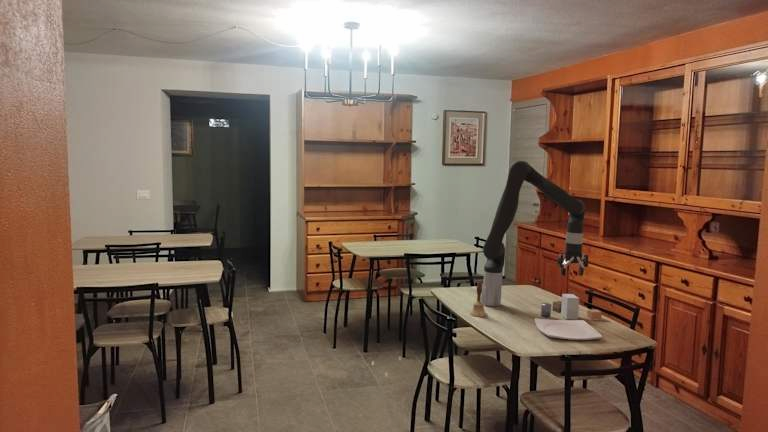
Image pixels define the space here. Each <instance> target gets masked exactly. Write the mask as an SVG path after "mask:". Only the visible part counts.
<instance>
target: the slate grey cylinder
mask: <svg viewBox="0 0 768 432" xmlns="http://www.w3.org/2000/svg"><path fill="white" fill-rule="evenodd" d="M551 315H552V304H551V303H548V302H542V303H541V312H540V317H541V318H543V319H544V318H545V319H548V318H549V319H550V318H551V317H552V316H551Z"/></svg>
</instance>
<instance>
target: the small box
mask: <svg viewBox="0 0 768 432" xmlns="http://www.w3.org/2000/svg"><path fill="white" fill-rule="evenodd" d="M561 302H562V307H561V313H560V315H561V316H562V317H563V318H564V319H566V320H579V311H580V310H579V309H580V297H578V296H576V295H575V294H574V293H562V294H561Z"/></svg>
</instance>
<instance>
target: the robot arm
mask: <svg viewBox="0 0 768 432" xmlns="http://www.w3.org/2000/svg"><path fill="white" fill-rule="evenodd" d="M533 167H534V166H533ZM533 167H532V165H531V164H529V163H528V162H527V161H524V160H517V161H514V162H513V163H512V164H511V165H510V167H509V170H508V175H507V179H506V183H505V187H504V189H503V193H502V195H501V197H500V200H499V203H498V205H497V209H496V210H495V211H496V212H495V216H494V218H493V220H492V225H491V228H490V231H489V234H488V236H487V238H486V240H485V243H484V244H483V248H482V252H483V255H484V257H485V258H486V262H485V264H484V267H483V284H482V292H481V300H480V301H481V303H483V306H485V307H500V306H501V304H502V303H501V302H502V290H503V289H502V287H503V285H502V284H503V269H504V266H505V260H506V247H505V246H506V245H505V243H504V242H503V239H504V237H505V235H506V233H507V231H508V230H509V228H510V227H511V225H512V223H513V221H514V220H515V217H516V213H517V211H518V207H519V200H520V191H521V188H522V186H523V184H524V181H525V182H527V183H529V184H531V185H532V186H533V187H535V188H536V189H538V190H539V191H540V193H542V194H543V195H544V196H545V197H547V198H548V199H550V200H551V201H552V202H554V203H556V204H557V205H559V206H560V208H561V207H562V209H564V210H565V211H566V212H568V213H569V217H568V221H567V224H566V225H567V226H566V236H565V246H564V247H565V249H564V251H565V253H564V254H562V253H559V254H558V257H557V266H558V267H560V274H561V276H562V277H566V274H567V273H566V272H567V268H568V266H569V265H570V264H572V265H573V264H577V265H578V266H579V268H578V276H580V277H583V275H584V270H585V268H588V267H589V254H587V253H583V243H584V234H583V233H584V219H585V215H586V214H585V213H586V204H585V202H584V201H583V200H581V199H576V198H575V197H573V196H572V195H570V194H569V192H568V191H566V190H565V189H564V188H561V186H559V185H557V184H555V183H554V182H552V181H551V180H550V179H547V178H546V177H545V176H543V175H542V174H540V172H539V171H537V170H536V169H535V168H533ZM582 253H583V254H582Z"/></svg>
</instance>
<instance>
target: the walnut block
mask: <svg viewBox="0 0 768 432" xmlns="http://www.w3.org/2000/svg"><path fill="white" fill-rule="evenodd" d="M561 307H562V300H561V301H560V300H558V301H552V311H553V312H555V313H558V314H561Z"/></svg>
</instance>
